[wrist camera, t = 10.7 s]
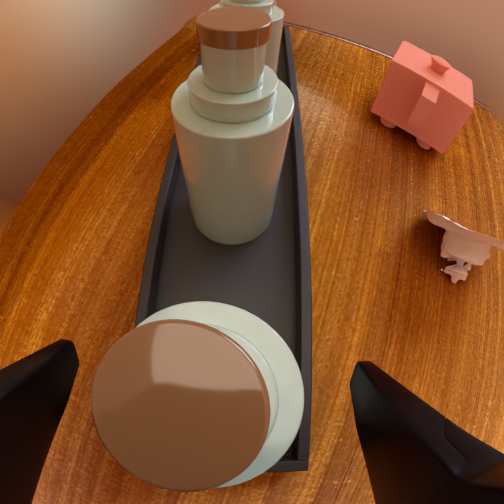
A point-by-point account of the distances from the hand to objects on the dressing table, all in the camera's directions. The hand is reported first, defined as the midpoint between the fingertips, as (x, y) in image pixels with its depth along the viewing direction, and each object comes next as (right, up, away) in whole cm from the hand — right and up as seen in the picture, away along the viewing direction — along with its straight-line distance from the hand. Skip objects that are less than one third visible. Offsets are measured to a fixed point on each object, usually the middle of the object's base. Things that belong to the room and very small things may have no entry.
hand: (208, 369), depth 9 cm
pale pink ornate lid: (+16, +4, +12) cm, 21 cm away
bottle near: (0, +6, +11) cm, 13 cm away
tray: (0, +11, +14) cm, 18 cm away
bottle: (0, -4, +7) cm, 8 cm away
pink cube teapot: (+17, +17, +18) cm, 30 cm away
